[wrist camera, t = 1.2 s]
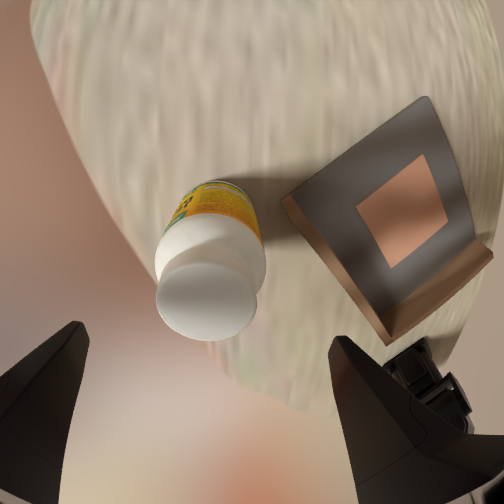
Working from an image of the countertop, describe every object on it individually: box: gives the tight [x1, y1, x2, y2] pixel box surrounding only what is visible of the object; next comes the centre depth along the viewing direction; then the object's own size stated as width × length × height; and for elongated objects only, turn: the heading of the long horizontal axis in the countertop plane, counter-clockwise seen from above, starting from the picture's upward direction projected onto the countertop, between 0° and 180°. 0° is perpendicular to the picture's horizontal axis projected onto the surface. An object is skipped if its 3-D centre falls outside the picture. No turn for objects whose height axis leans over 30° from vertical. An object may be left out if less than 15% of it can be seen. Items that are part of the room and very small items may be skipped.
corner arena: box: [281, 96, 493, 347], centre depth 18 cm, size 16×14×4 cm
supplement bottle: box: [155, 181, 266, 341], centre depth 15 cm, size 5×5×10 cm
